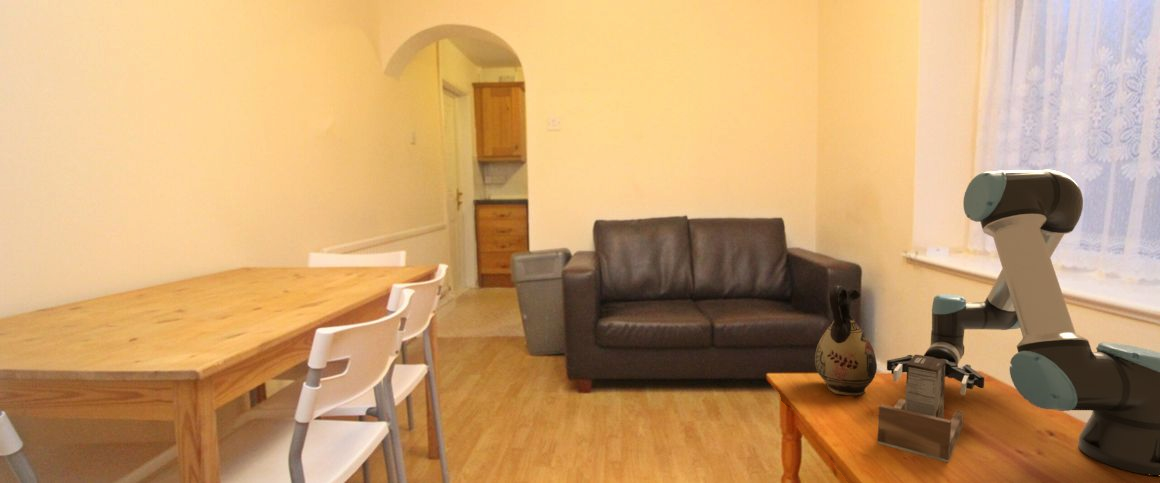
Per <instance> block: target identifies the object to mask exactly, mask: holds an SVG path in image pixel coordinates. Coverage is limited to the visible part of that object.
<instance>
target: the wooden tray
mask: <svg viewBox="0 0 1160 483" xmlns="http://www.w3.org/2000/svg"><path fill="white" fill-rule="evenodd" d="M905 404H906V398H899V399H898V400H897V402H896V403H895V405H894V406H890V405H886V404H881V403H880V404H879V406H878V423H877V425H878V427H877V443H878V445H879V444H880V445H883V446H888V447H890V448H894V449H898V450H902V451H905V452H908V453H912V454H916V455H919V456H923V457H927V458H931V459H935V460H938V461H942V462H946V463H949V462H950V459H951V457H952V454H953V452H954V450H955V447H956V444H957V441H958V439H959V436H960V434H961V431H962V429H963V427H964V426H963V424H964V411H959V410H954V413H953V415H952V418H951V419H946V418H944V417H943V418H938V417H934V416H930V415H925V414H921V413H917V412H912V411H908V410H905Z"/></svg>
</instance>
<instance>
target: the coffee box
mask: <svg viewBox="0 0 1160 483" xmlns="http://www.w3.org/2000/svg"><path fill="white" fill-rule="evenodd" d="M912 356H913V358H912V359H911V360H910V361H909V363H908V364H907V372H906V382H905V384H906V385H905V399H906V404H905V410H908V411H912V412H917V413H921V414H925V415H930V416H934V417H938V418H943V419H944V408H945V406H944V405H945V385H946V377H945V363H946V360H943V359H937V358H933V357H929V356H924V354H923V355H922V354H913V355H912Z"/></svg>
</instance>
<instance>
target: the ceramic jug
mask: <svg viewBox="0 0 1160 483" xmlns="http://www.w3.org/2000/svg"><path fill="white" fill-rule="evenodd" d="M860 297H861V293H860V292H859V290H857V289H855V288H851V289H850V290H847V288H846V287H844V286H841V285H838V284H837V285H834V286H831V288H830V290H829V305H830V310H831V314H832V318H833V321H832V322H831V324H829V326H828V327H827V329H825V331H824V333H823V334H822V335H821V337H820V339H819V342H818V344H817V346H816V350H815V354H814V365H815V368H816V371H817V373H818V375H819V376H820V378H821V379H822V380H823V381H824V383H825V384H826V386H827V388H828V390H829V391H831V392H832V393H834V394H836V395H844V396H845V395H846V396H857V397H858V396H862V395H864V394H866V391H865V390H866V388H867V387H868V386H869V385H870V384H871V383H872V382H873V380H874V379H875V377H876V374H877V367H878V364H877V358H876V354H875V351H874V348H873V346H872V344H871V342H870V341H869V339H868V337H867V336H866V335H865V332H864V331H863V330H862V328H861V327H860V326H859V325H858V323H857V322H856V321H855V319H854V317H853V316H852V315H851V307H852V304H853V302H854V301H855V302H856V300H857V299H859V298H860Z"/></svg>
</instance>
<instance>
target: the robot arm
mask: <svg viewBox="0 0 1160 483" xmlns="http://www.w3.org/2000/svg"><path fill="white" fill-rule="evenodd" d="M1083 198H1084V197H1083V193H1082V191H1081V188H1080V187H1079V185H1078V184H1077V182H1076V181H1075V180H1074V179H1073V178H1072V177H1070V176H1069V175H1067V174H1065V173H1063V172H1060V171H1057V170H1054V169H1053V170H1052V169H1038V170H1036V169H1035V170H1001V169H1000V170H996V171H985V172H981V173H978V174H977V175H976V176H974V177H973V178H972V179H971V181H970V182H969V183H968V185H967V187H966V190H965V192H964V195H963V210H964V214H965V216H966V217H967V218H968V219H969V220H971V221H973V222H976V223H977V222H980V225H981V229H982V232H983V233H984V234H986V235H987V236H990V237H992V238H993V241H994V244H995V248H996V251H997V255H998V257H999V261H1000V264H1001V271H1000V272H999V274H998V276H997V278H996V279H995V282H994V284H993V286H992V287H991V289H990V292H989V293H988V295H987V296H986V299H985V300H984V301H981V302H977V301H975V302H974V301H973V302H971V301H969V302H967V301H966V298H965V297H964V296H962V295H957V294H948V293H947V294H945V293H942V294H940V293H939V294H937V295H934V297H933V301H932V304H931V305H932V306H931V307H932V308H931V331H930V332H931V333H930V346H929V347H928V348H927V350H926V351H925V353H924V354H923V356H929V357H933V358H937V359H943V360H946V363H945V378H946V377H947V378H948V379H954V380H956V381H958V382H960V395H962V396H965V395H966V394H967V390H969V389H970V390H973V389H974V387H975V386H976V387H978V388H979V389H984V388H985V377H984V376H982V374H981V373H980V372H978V371H976V370H975V369H973V368H972V366H971V365H970V364H964V365H962V366H959V363H960V361H961V359H962V358H963V356H964V354H965V344H964V339H965V338H964V337H965V330H990V331H991V330H995V331H996V330H997V331H1008V330H1016V329H1020V331H1021V335H1022V339H1021V340H1020V342H1019V343H1018V344H1017V345H1016V348H1017V353H1015V354H1014V355H1013V356H1012V357H1011V359H1010V362H1009V363H1010V366H1009V374H1010V379H1011V381H1012V384H1013V385H1014V387H1015V389H1016V391H1018V393H1019V395H1020V396H1021V397H1022V398H1023V399H1025V400H1026V401H1028V403H1030V404H1031V405H1032V406H1035V407H1036V408H1040V409H1044V410H1052V411H1053V410H1054V411H1059V412H1069V411H1091V415H1090V417H1089V418H1088V420H1087V422H1086V423H1085V425H1084V427H1083V428H1082V430H1081V432H1079V433H1080V434H1079V436H1078V448H1079V450H1080V451H1081V452H1082V453H1083V454H1084V455H1085V454H1086V455H1087V456H1088V457H1090V458H1092V459H1093V460H1096V461H1098V462H1100V463H1103V464H1105V465H1108V466H1111V467H1114V468H1117V469H1120V470H1123V471H1128V472H1132V473H1136V474H1140V473H1141V474H1142V475H1145V474H1148V475H1147V476H1151V475H1160V352H1159V351H1155V350H1151V349H1147V348H1142V347H1138V346H1135V345H1134V346H1133V345H1129V344H1122V343H1118V342H1117V343H1116V342H1109V341H1108V342H1107V341H1105V342H1104V341H1103V342H1100V343H1098V344H1097V347H1096V348H1095V350H1096V351H1093V350H1092V347H1091V345H1090V342H1089V339H1088V338H1085V337H1084V336H1081V334H1077V333H1076V330H1075V327H1074V325H1073V322H1072V318H1071V316H1070V312H1069V310H1068V307H1067V304H1066V301H1065V298H1064V295H1063V294H1064V293H1063V292H1062V291H1063V290H1062V289H1061V286H1060V283H1059V279H1058V276H1057V274H1056V270H1055V267H1054V264H1053V262H1052V259H1051V257H1052V256H1053V254H1054V252H1055V251H1056V249H1057V247H1058V246H1059V244H1060V242H1061V241H1062V239H1063V237H1064V235H1066V234H1070V233H1071V232H1073V231H1074V229H1075V228H1076V226H1077V224H1078V223H1079V221H1080V218H1081V216H1082V212H1083V207H1084V199H1083ZM913 356H914V355H912V354H907V355H905V356H902V357H898V358H897V357H896V358H892V359H888V360H886V370H887V371H890V372H891V375H892V381H893V382H898V381H899V379H900V378H901V376H902V375H903V373H907V364H908V363H909V361H910V360H911V359H912V358H913ZM1141 474H1140V475H1141ZM1149 474H1150V475H1149Z"/></svg>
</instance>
